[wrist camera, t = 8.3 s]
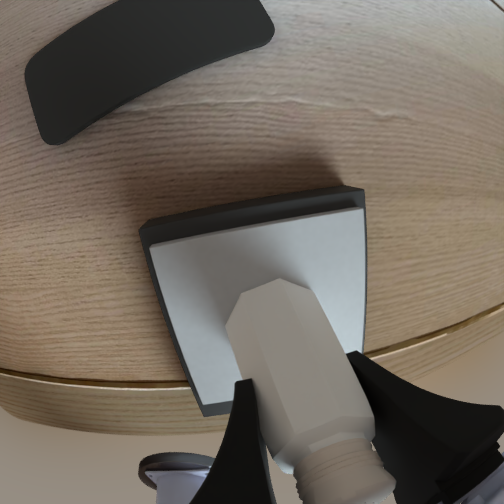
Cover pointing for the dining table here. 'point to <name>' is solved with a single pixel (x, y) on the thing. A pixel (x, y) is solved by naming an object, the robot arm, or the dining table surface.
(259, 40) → the phone
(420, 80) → the dining table surface
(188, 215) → the scale
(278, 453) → the pepper shaker
